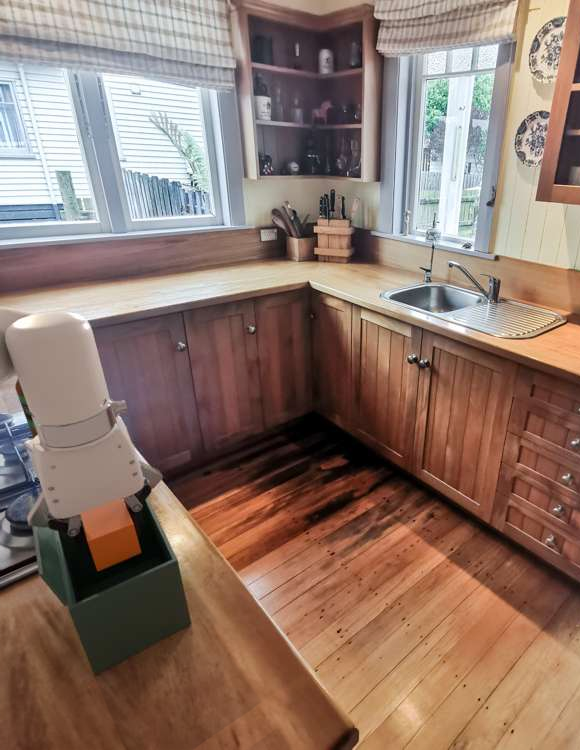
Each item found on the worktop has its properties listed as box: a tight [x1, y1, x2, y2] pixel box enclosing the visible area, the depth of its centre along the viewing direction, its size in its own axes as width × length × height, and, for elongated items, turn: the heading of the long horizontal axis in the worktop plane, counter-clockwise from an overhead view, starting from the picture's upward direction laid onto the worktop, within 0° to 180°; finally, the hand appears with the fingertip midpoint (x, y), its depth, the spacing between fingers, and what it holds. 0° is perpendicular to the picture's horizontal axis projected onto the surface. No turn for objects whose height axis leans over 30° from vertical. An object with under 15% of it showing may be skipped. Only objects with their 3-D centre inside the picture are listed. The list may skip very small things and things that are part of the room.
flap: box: [27, 495, 68, 607], centre depth 56 cm, size 6×15×1 cm
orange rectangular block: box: [81, 499, 141, 571], centre depth 60 cm, size 5×8×5 cm, turn 37°
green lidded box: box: [54, 496, 192, 677], centre depth 64 cm, size 12×15×12 cm
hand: (112, 538), depth 61 cm, fingers closed on orange rectangular block, 5 cm apart
